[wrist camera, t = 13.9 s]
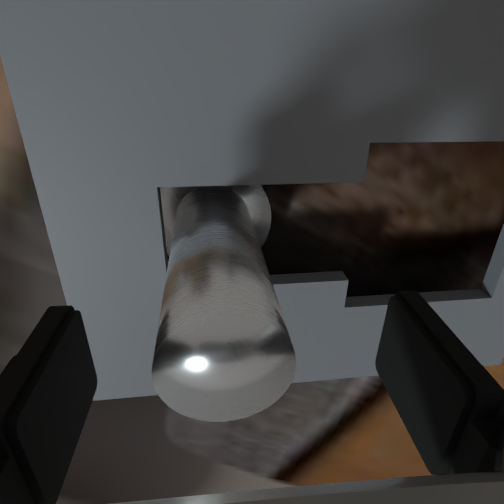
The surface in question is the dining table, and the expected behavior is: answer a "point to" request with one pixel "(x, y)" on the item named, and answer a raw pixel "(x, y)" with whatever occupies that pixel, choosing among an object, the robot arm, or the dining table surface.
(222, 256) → the steel peg
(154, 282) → the keyhole plate
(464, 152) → the dining table surface
